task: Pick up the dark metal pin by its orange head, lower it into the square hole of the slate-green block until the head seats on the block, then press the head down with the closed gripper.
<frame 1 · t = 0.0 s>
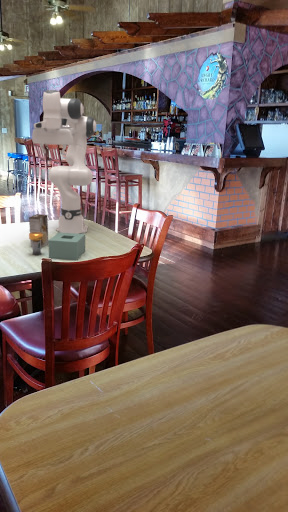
hand: (53, 153, 211), 48 cm above the table, tool pointing down, fingers open, 8 cm apart
coffee box: (39, 245, 224), on the table
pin: (36, 253, 209), on the table
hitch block: (67, 254, 210), on the table
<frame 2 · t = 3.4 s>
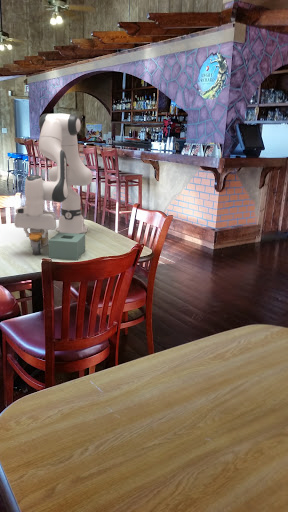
hand: (36, 237, 206), 9 cm above the table, tool pointing down, fingers closed on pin, 7 cm apart
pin: (36, 254, 209), on the table, touching gripper
everything else where it was.
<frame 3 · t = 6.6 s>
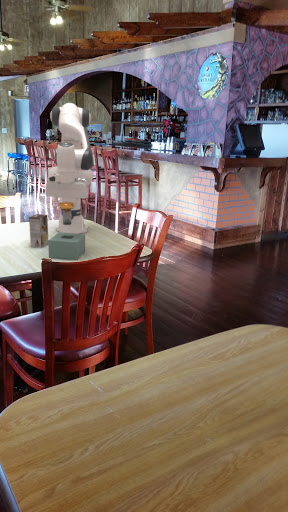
hand: (66, 206, 203), 24 cm above the table, tool pointing down, fingers closed on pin, 7 cm apart
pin: (67, 224, 206), point 16 cm above the table, touching gripper
everything else where it was.
when the fingers open (11 cm above the table, at t = 9.8 s): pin stays where it is, resting on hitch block.
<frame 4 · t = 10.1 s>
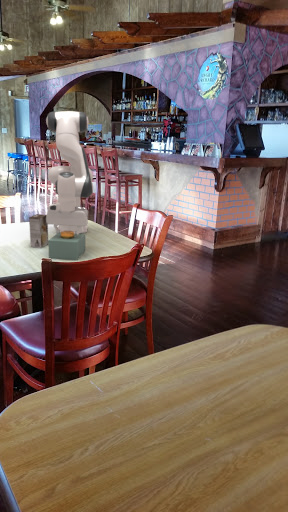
hand: (67, 234, 207), 11 cm above the table, tool pointing down, fingers open, 8 cm apart
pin: (67, 252, 210), point 1 cm above the table, touching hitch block
everything else where it was.
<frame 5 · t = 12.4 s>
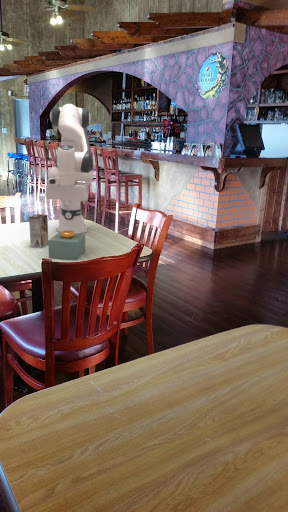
hand: (67, 209, 203), 23 cm above the table, tool pointing down, fingers closed
nothing on the table moved.
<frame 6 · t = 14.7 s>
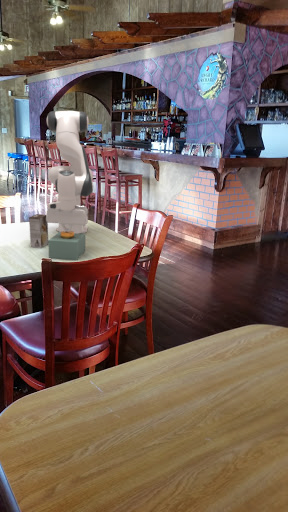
hand: (67, 232, 207), 11 cm above the table, tool pointing down, fingers closed, pressing on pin
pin: (67, 252, 210), point 1 cm above the table, touching gripper, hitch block
everything else where it was.
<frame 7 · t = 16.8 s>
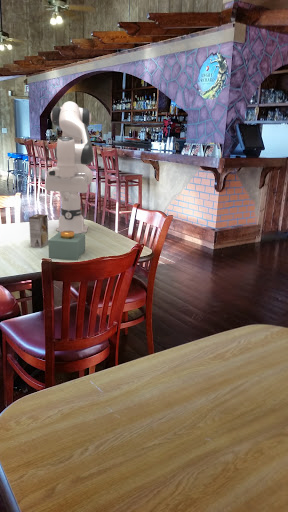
hand: (66, 201, 202), 27 cm above the table, tool pointing down, fingers closed
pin: (67, 252, 210), point 1 cm above the table, touching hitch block
everything else where it was.
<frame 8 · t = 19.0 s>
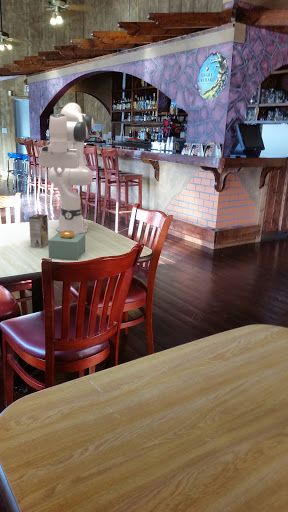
hand: (59, 176, 210), 37 cm above the table, tool pointing down, fingers closed
nothing on the table moved.
at the end: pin 0.0 cm off-centre on the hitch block, point 1.0 cm above the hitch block's base; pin tilted 0°; the gripper is holding nothing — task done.
